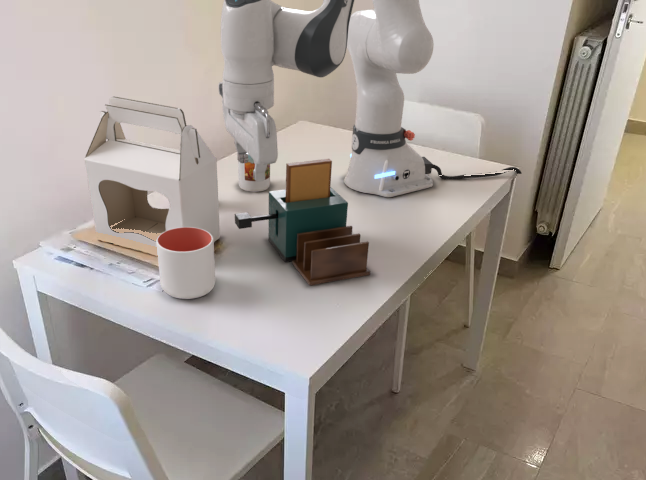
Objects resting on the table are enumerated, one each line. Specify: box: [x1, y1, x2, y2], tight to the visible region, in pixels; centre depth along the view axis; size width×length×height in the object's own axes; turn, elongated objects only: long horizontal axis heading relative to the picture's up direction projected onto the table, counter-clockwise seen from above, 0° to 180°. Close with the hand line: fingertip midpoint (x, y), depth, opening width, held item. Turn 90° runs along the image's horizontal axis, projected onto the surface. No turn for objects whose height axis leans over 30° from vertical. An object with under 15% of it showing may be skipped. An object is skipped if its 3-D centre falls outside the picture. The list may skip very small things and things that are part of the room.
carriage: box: [234, 211, 278, 230], centre depth 132 cm, size 20×3×2 cm, turn 112°
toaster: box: [267, 186, 349, 263], centre depth 135 cm, size 13×11×11 cm
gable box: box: [83, 96, 221, 247], centre depth 130 cm, size 22×13×28 cm, turn 65°
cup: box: [156, 227, 216, 300], centre depth 120 cm, size 10×10×10 cm
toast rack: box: [291, 225, 371, 286], centre depth 128 cm, size 13×9×7 cm
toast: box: [285, 158, 333, 203], centre depth 130 cm, size 9×1×10 cm, turn 112°
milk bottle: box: [237, 154, 271, 192], centre depth 157 cm, size 8×8×20 cm
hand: (250, 170), depth 124 cm, fingers open, 8 cm apart
